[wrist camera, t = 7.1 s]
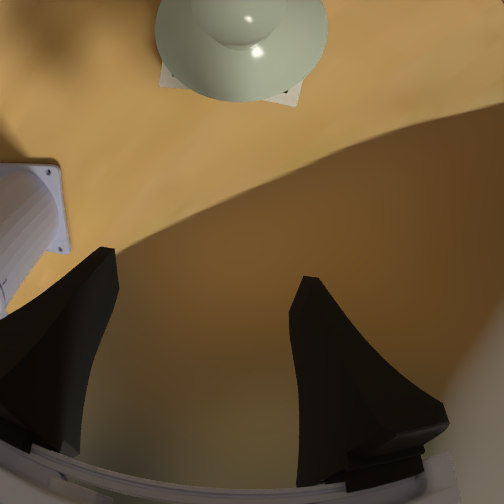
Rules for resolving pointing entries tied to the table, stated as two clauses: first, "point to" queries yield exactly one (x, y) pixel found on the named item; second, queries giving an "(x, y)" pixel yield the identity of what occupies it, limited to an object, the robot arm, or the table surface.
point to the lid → (240, 45)
